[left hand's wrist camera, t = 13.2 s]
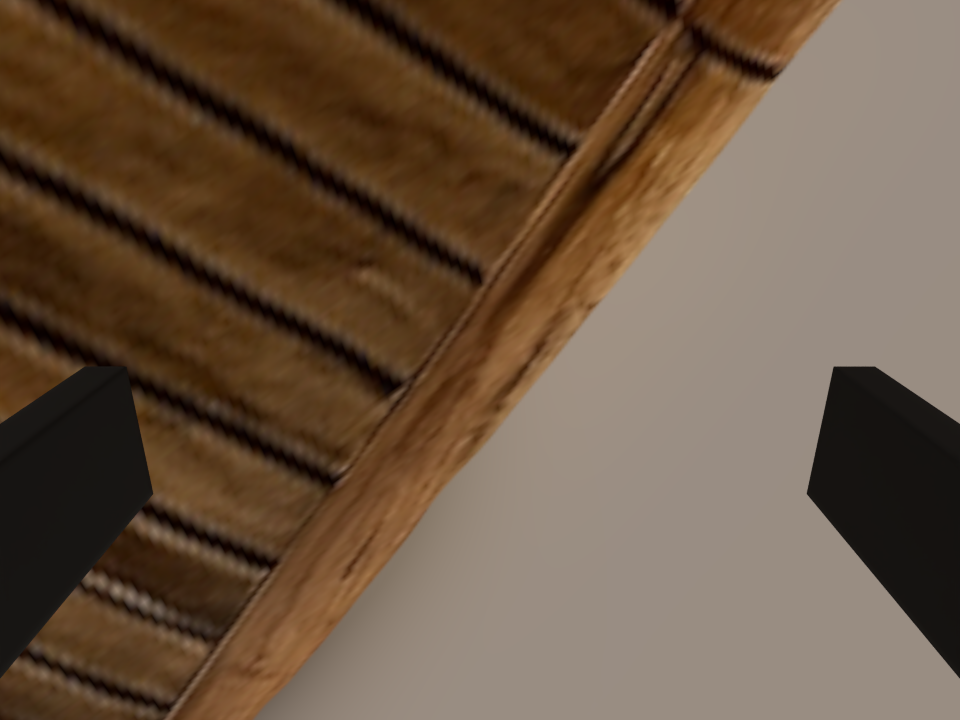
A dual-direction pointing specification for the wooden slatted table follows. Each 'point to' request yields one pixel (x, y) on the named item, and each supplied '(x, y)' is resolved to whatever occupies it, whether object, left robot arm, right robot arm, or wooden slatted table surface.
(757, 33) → the wooden slatted table surface
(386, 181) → the wooden slatted table surface
